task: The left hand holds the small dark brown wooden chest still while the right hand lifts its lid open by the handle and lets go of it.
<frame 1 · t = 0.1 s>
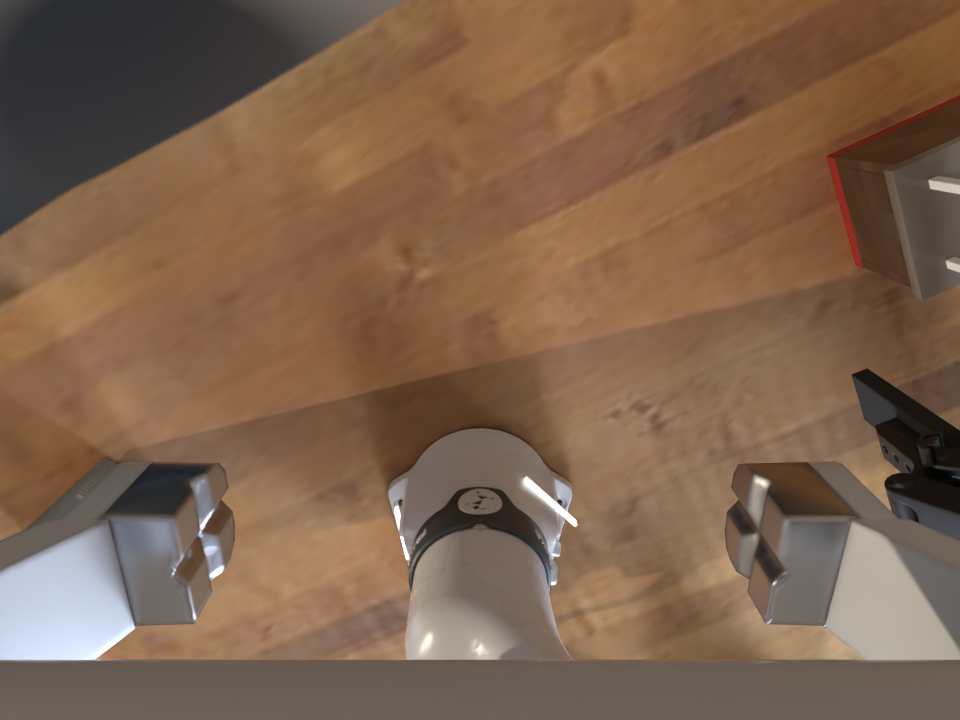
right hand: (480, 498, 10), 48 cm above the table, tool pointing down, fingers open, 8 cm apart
hard drive box: (100, 521, 68), on the table
chest: (919, 177, 55), on the table
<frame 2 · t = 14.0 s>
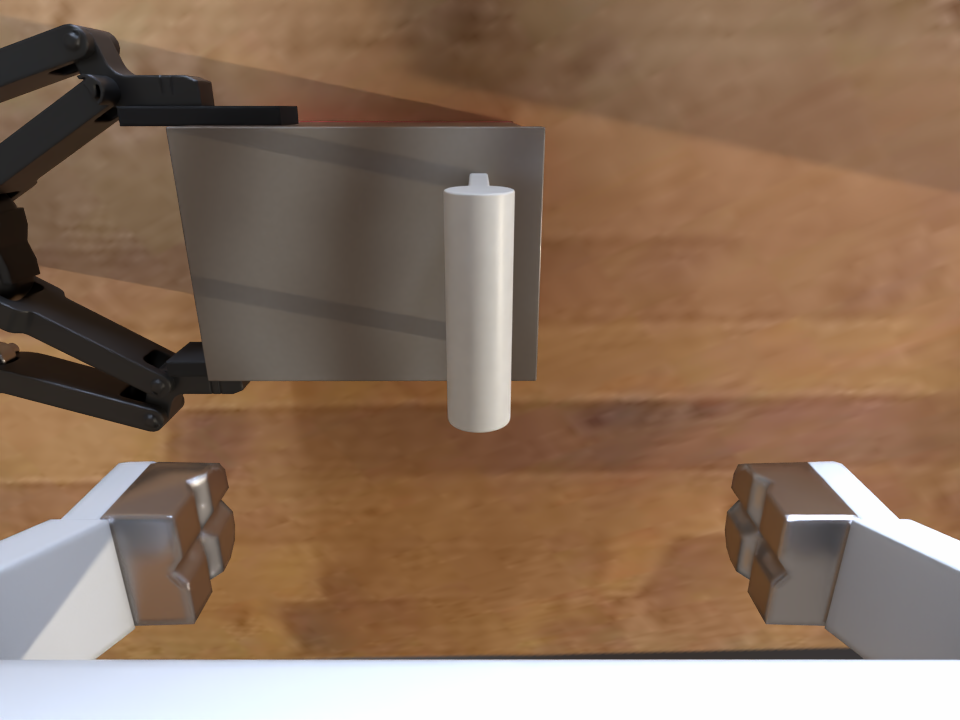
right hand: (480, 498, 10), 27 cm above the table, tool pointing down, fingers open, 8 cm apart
lid: (349, 284, 23), point 14 cm above the table, hinge at -0.1°
chest: (389, 220, 35), on the table, touching left hand
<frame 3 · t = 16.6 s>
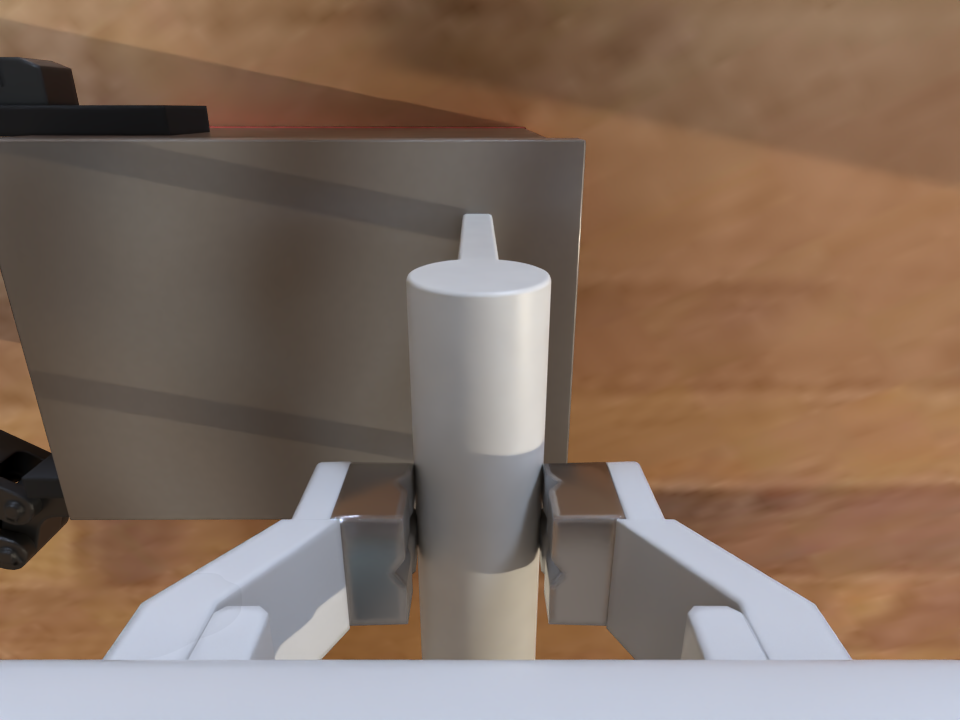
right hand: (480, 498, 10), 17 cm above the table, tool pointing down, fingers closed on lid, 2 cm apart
lid: (258, 406, 13), point 14 cm above the table, hinge at -0.2°, touching right hand
chest: (356, 261, 26), on the table, touching left hand
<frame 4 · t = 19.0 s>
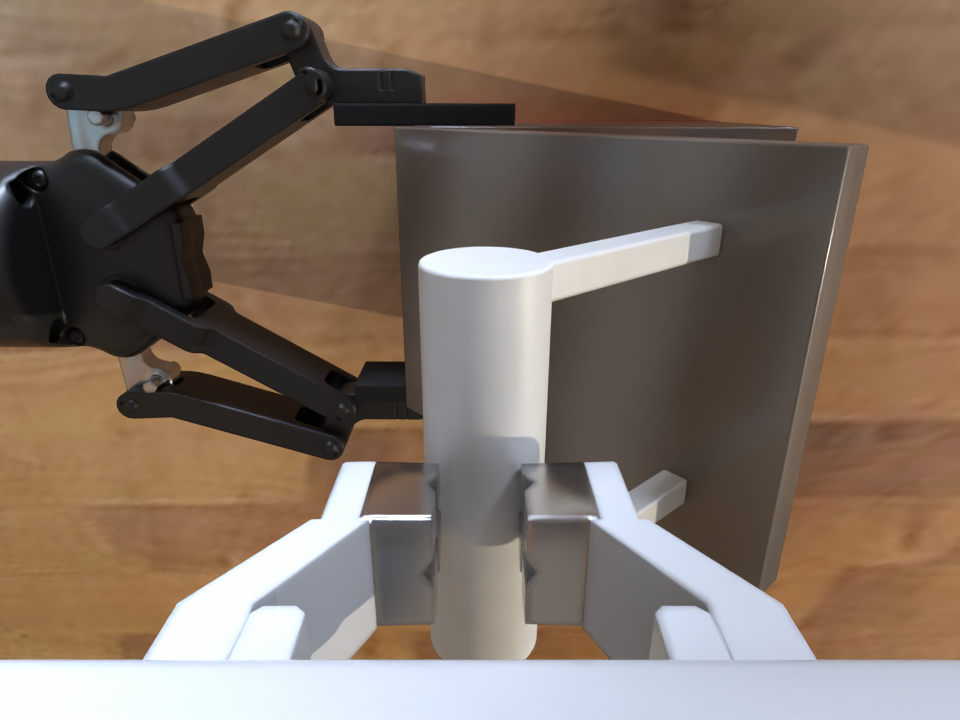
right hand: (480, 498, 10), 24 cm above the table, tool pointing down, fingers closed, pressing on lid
left hand: (510, 258, 26), fingers closed on chest, 10 cm apart
lid: (458, 352, 16), point 18 cm above the table, hinge at 47.0°, touching right hand
chest: (565, 228, 33), on the table, touching left hand
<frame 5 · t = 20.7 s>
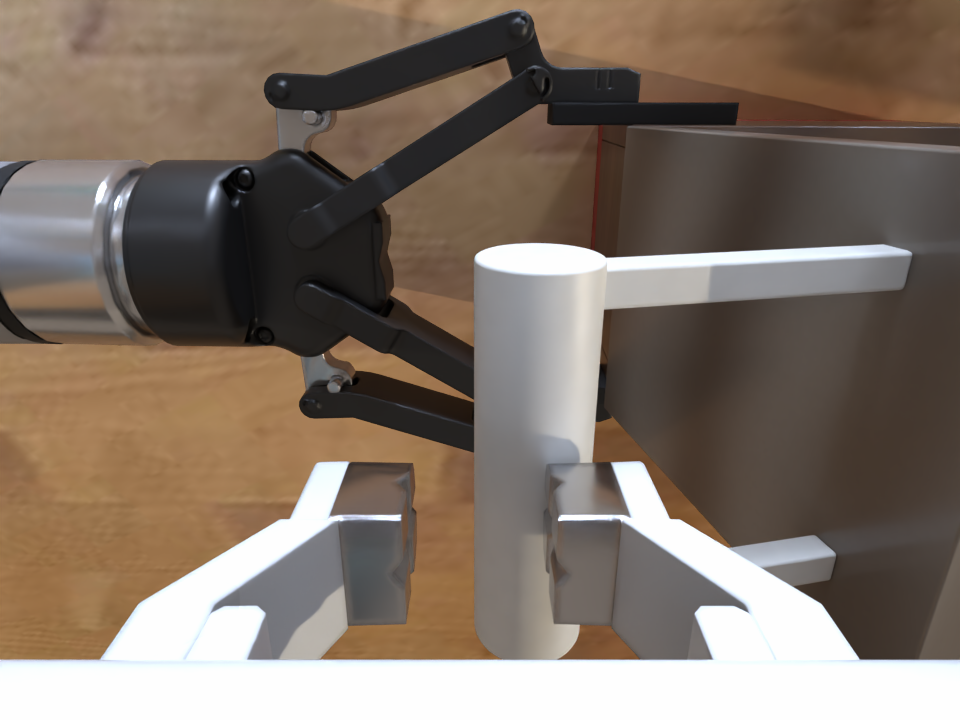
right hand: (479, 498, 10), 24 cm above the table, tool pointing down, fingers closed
left hand: (705, 259, 26), fingers closed on chest, 10 cm apart
lid: (606, 354, 16), point 18 cm above the table, hinge at 75.5°, touching right hand
chest: (726, 229, 32), on the table, touching left hand
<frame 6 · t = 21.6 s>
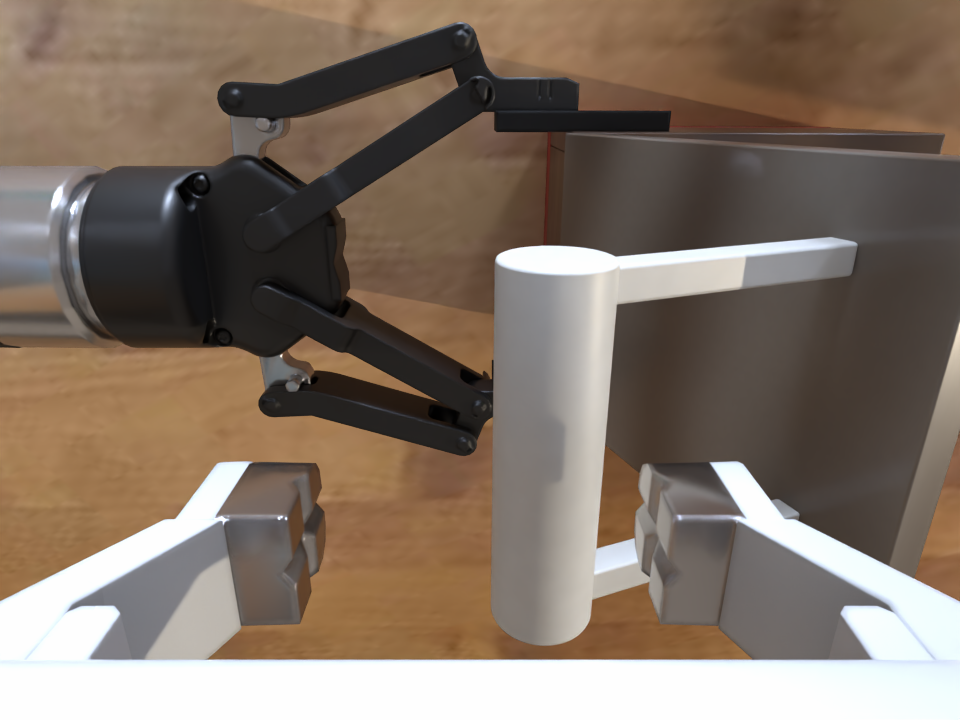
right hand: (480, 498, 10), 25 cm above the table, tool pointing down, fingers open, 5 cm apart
left hand: (647, 258, 27), fingers closed on chest, 10 cm apart
lid: (577, 349, 17), point 18 cm above the table, hinge at 68.1°
chest: (671, 230, 34), on the table, touching left hand
when the left hand's fingers open (7 cm above the table, at t = 24.4 s): chest stays where it is, on the table.
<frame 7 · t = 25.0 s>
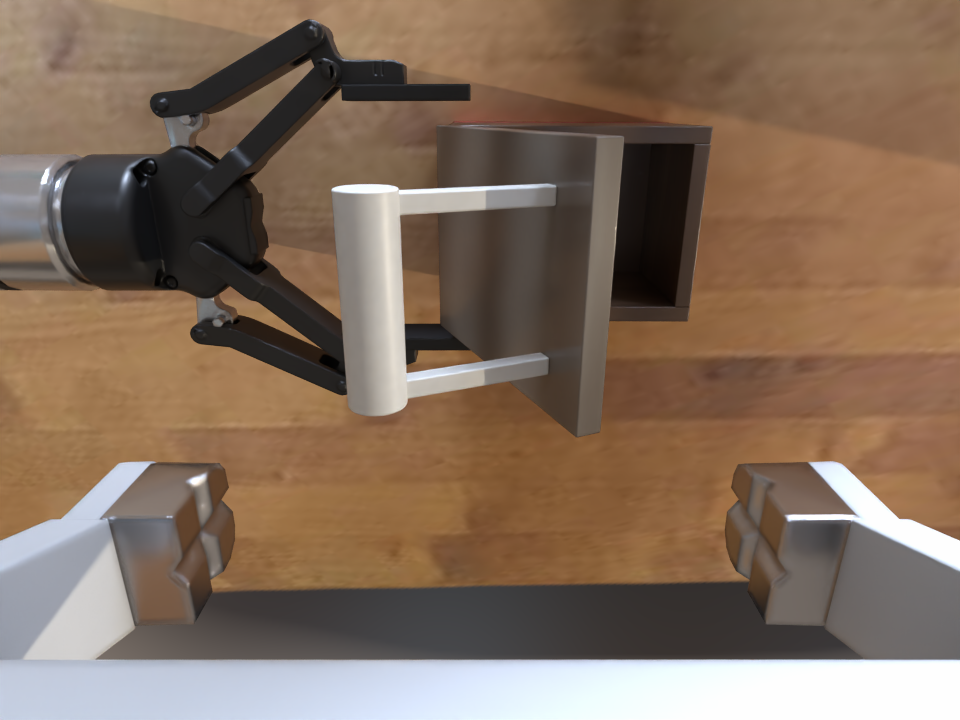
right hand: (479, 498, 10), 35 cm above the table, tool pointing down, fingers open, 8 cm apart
left hand: (471, 222, 36), fingers open, 13 cm apart
lid: (422, 264, 26), point 18 cm above the table, hinge at 66.4°
chest: (555, 204, 43), on the table
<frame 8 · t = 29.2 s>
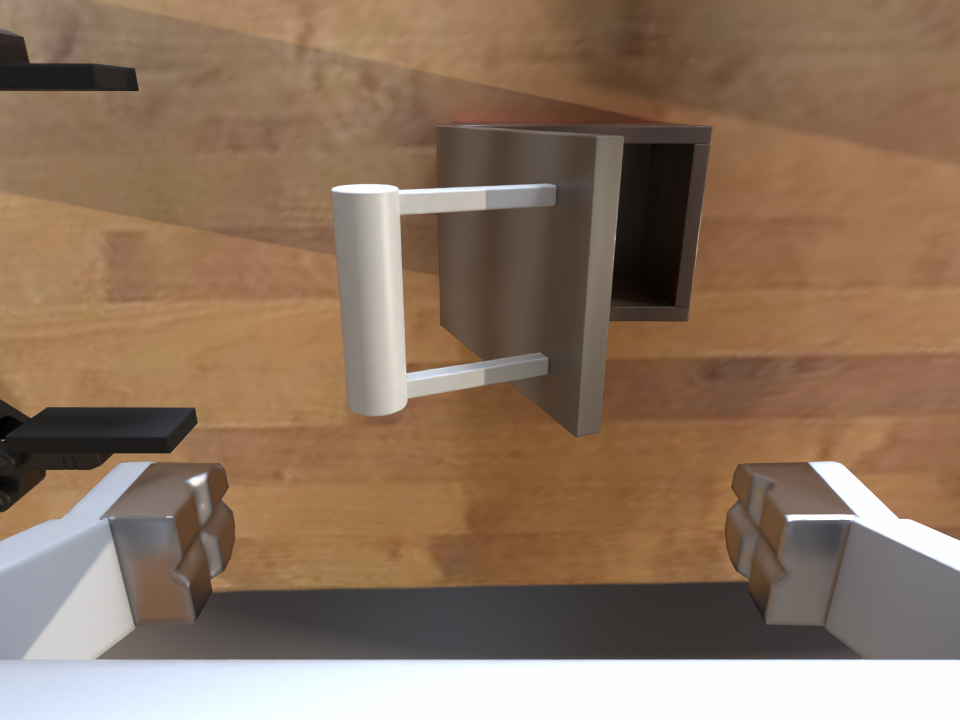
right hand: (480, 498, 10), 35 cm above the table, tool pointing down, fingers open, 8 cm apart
lid: (422, 264, 26), point 18 cm above the table, hinge at 66.4°
chest: (555, 204, 43), on the table
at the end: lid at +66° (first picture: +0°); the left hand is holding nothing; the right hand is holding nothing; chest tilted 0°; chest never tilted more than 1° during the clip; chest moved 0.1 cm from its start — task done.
